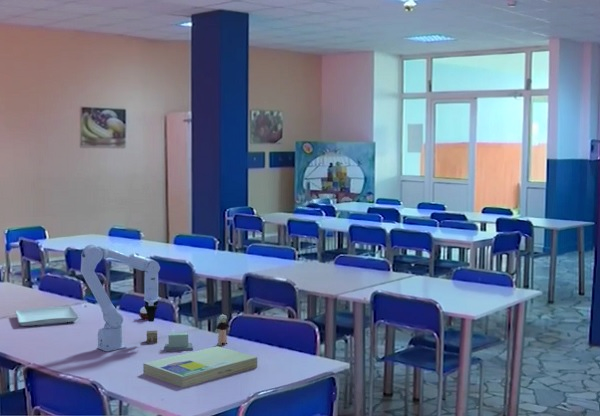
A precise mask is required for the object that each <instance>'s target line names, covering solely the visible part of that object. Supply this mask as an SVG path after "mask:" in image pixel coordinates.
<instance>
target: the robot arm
mask: <svg viewBox="0 0 600 416" xmlns="http://www.w3.org/2000/svg"><path fill="white" fill-rule="evenodd" d="M80 255H81V258H80V259H81V260H80V273H81V275H82V276H83V278H84V280H85V282H86V283H87V285H88V287H89V289H90V292H91V293H92V294H93V296H94V298H95V300H96V302H97V303H98V305H99V307H100V310H101V312H102V317H103V321H104V322H105V323H104V325H103V326H104V327H103V328H100V329H98V332H97V349H99V350H102V351H104V352H110V351H116V350H121V349H122V350H123V349H126V348H127V346H126V345H124V344H123V323H124V316H123V315H122V314H121V312H119V311H118V310H117V308H116V307H115V306H114V305H113V304H114V303H112V301H111V299H110V297H109V295H108V294H107V292H106V290H105V288H104V287H103V285H102V283H101V281H100V279H99V277H98V275H97V274H96V272H95V270H96V268H97V265H98V264H99V263H100V262H101V260H107V259H113V260H116V261H120V262H123V263H126V264H127V267H128V268H132V269H136V270H138V271H142V272H143V271H144V279H143V280H144V282H143V283H144V298H143V301H144V303H145V304H144V306H143V307H145V309H146V312H147V316H148V320H147V321H148V322H149V323H151V322H154V321H155V319H156V312H157V309H158V307H159V305H158V303H159V301H161V300H162V297H159V272H160V270H161V266H160V264H159V262H158V261H156V260H154V259H152V258H150V257H149V256H146V257H145V256H142V255H140V254H139V253H137V252H135V253H130V254H125V253H123V252H120V251H117V250H115V249H112V248H109V247H105V246H99V245H97V246H96V245H94V244H88V245H86V246H85V247H84V249H82V252H81V254H80Z"/></svg>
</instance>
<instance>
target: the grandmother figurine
mask: <svg viewBox="0 0 600 416" xmlns="http://www.w3.org/2000/svg"><path fill="white" fill-rule="evenodd" d="M227 319H228V317H227V315H225V314H220V315H219V317H218V320H219V323H218V325H217V326H216V328H215V330H214V333H215V334H217V333H218V335H217V336H218V337H217V338H218V339H217V346H222V343H223V345H227V344H228V341H227V340H228V338H227V330H228V331H231V327H230V325H229V323H227ZM226 343H227V344H226Z"/></svg>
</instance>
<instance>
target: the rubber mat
mask: <svg viewBox="0 0 600 416" xmlns="http://www.w3.org/2000/svg"><path fill="white" fill-rule="evenodd" d="M164 346H165V347H164V348H165V352H178V351H193V350H194V347H193V346H194V345H193V342H188V347H169V343H165V345H164Z"/></svg>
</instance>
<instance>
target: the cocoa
mask: <svg viewBox="0 0 600 416" xmlns="http://www.w3.org/2000/svg"><path fill="white" fill-rule="evenodd" d="M138 316H139V317H140V319H141V320H143V319H148V316H147V312H146V309H145V307H144V306H143V307H141V308H140V309H139V312H138Z"/></svg>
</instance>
